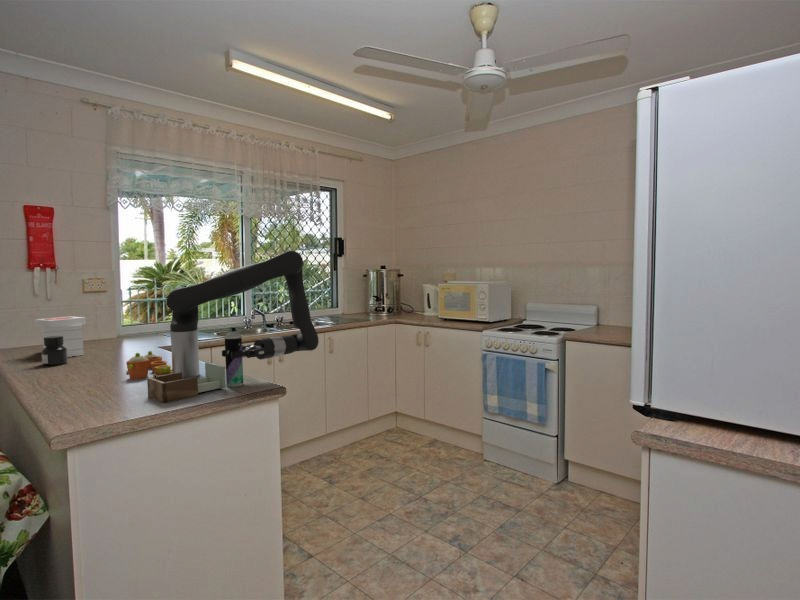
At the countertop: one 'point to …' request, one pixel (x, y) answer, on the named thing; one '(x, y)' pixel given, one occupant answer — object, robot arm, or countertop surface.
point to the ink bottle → (54, 351)
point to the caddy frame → (172, 387)
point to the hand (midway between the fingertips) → (227, 354)
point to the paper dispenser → (65, 332)
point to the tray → (212, 378)
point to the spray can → (233, 365)
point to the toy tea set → (147, 366)
